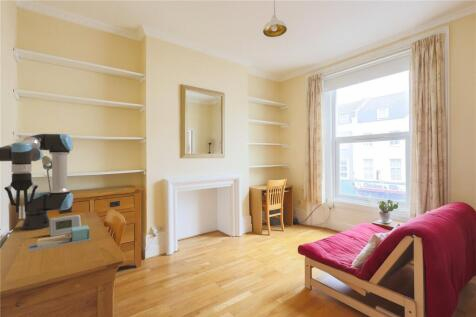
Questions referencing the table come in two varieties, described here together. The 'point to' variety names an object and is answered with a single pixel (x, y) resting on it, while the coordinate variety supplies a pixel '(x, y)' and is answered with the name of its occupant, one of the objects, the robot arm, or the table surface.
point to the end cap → (80, 233)
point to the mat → (34, 246)
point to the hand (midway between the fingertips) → (22, 218)
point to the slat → (53, 240)
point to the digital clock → (63, 224)
